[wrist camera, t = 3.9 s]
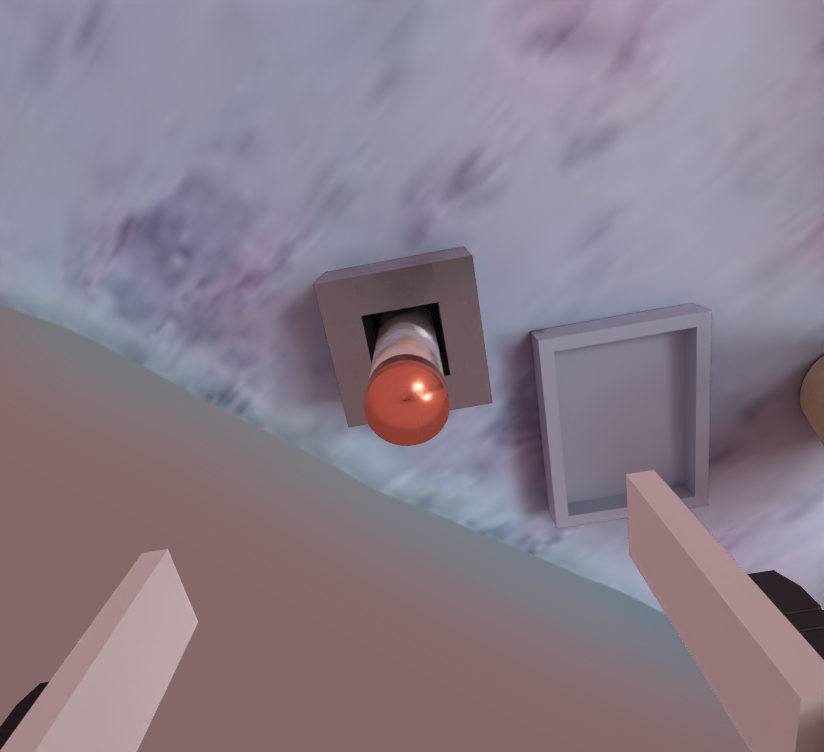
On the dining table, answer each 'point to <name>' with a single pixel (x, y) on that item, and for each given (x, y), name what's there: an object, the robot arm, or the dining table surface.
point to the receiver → (396, 289)
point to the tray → (623, 409)
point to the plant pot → (814, 397)
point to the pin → (406, 379)
